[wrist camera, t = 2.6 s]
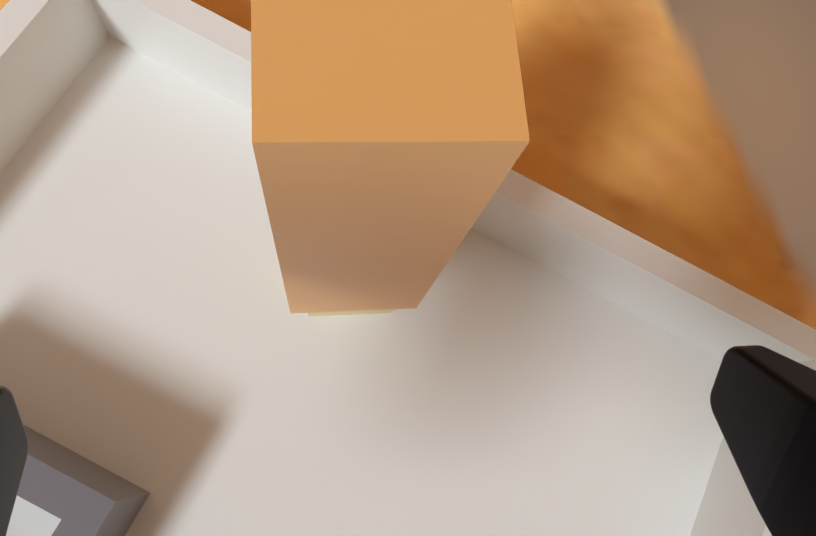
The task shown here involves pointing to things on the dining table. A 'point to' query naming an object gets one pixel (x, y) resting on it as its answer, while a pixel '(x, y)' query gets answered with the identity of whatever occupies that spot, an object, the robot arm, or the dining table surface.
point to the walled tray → (324, 329)
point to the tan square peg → (380, 140)
